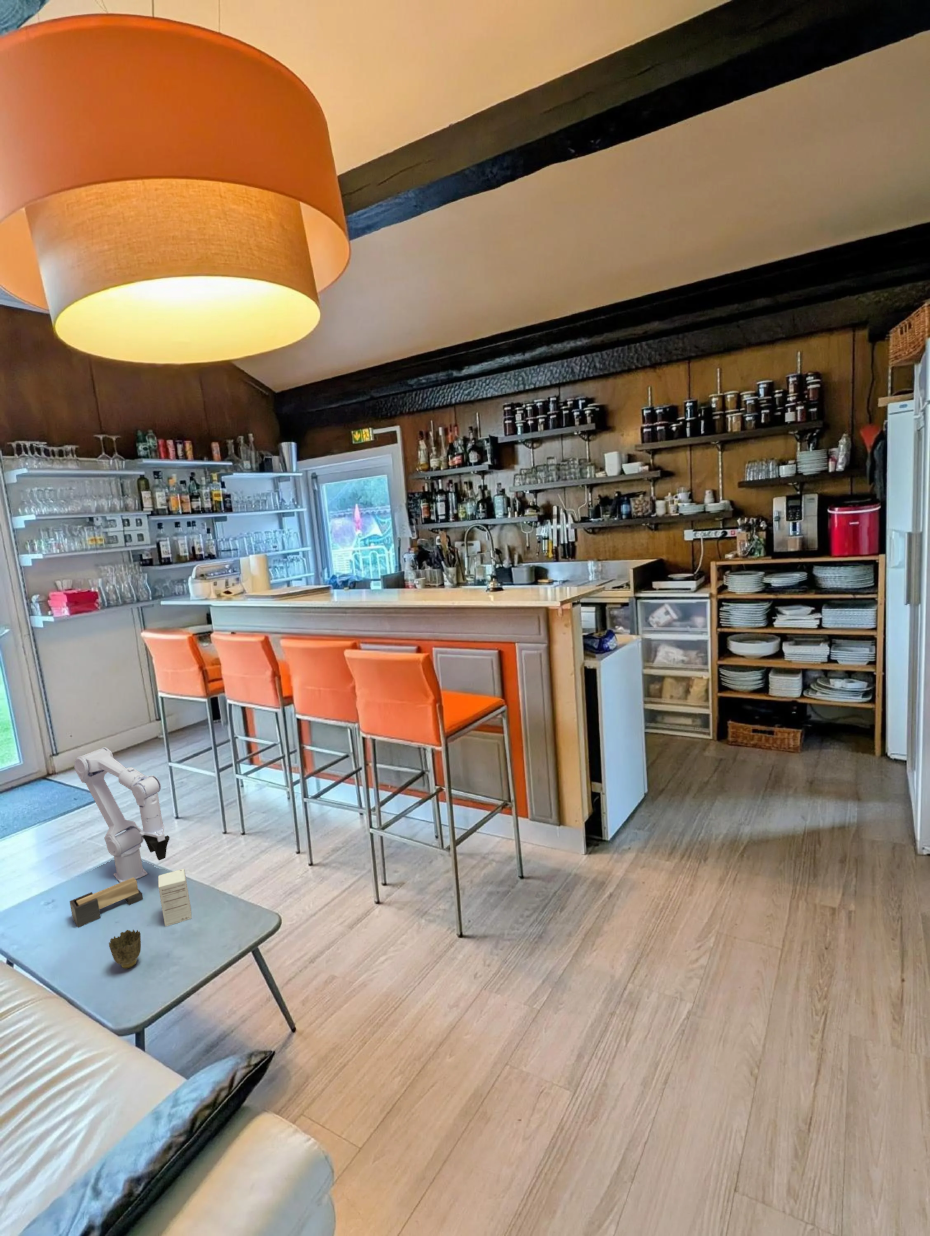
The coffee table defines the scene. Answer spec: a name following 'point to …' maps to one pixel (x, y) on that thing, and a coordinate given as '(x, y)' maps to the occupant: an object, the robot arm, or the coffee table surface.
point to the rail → (112, 893)
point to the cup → (126, 948)
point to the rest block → (134, 898)
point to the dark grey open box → (85, 911)
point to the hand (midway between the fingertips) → (157, 855)
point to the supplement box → (174, 897)
